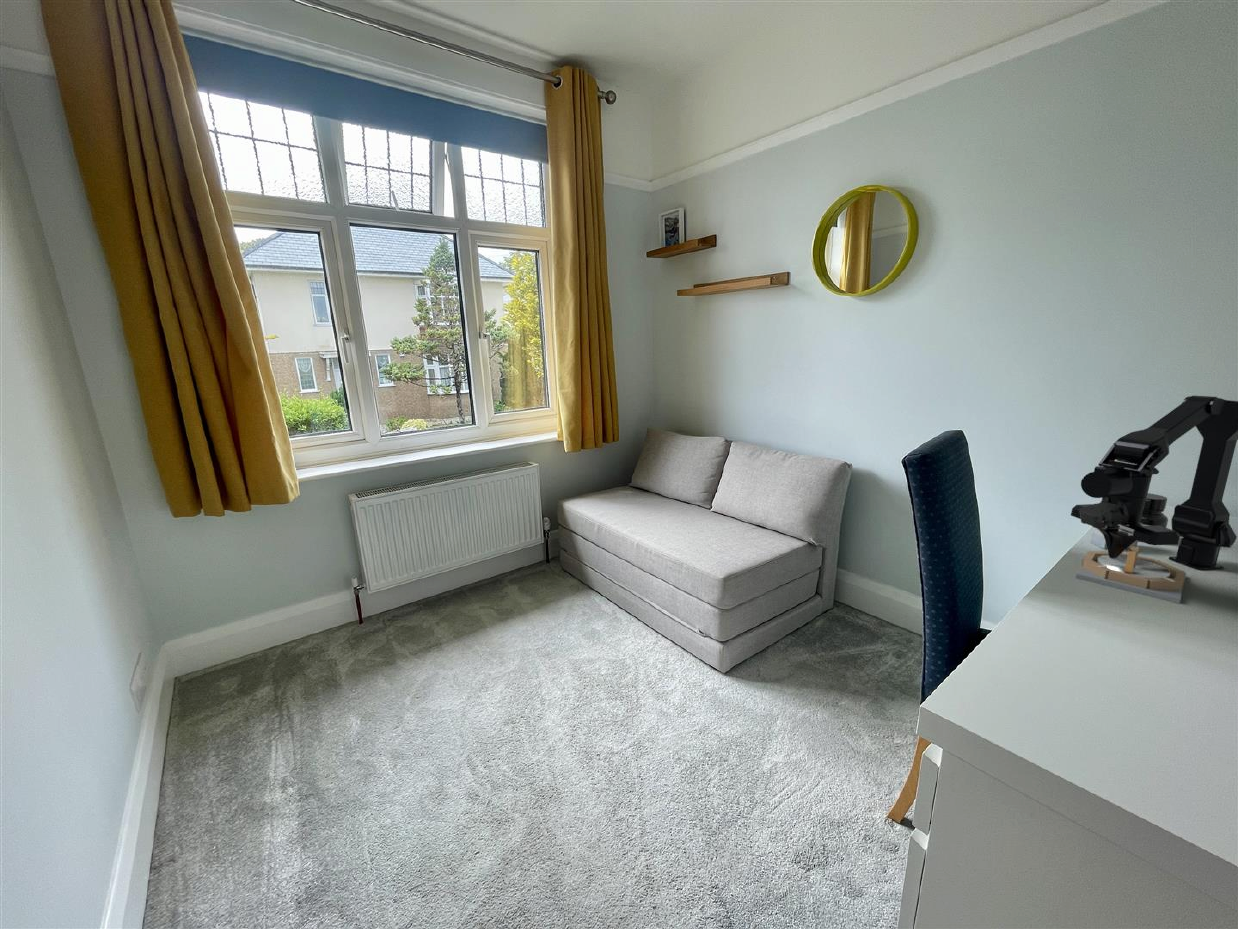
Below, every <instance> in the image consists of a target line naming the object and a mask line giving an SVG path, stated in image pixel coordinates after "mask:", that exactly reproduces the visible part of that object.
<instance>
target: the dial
mask: <svg viewBox="0 0 1238 929" xmlns="http://www.w3.org/2000/svg"><path fill="white" fill-rule="evenodd" d="M1139 553H1140V547H1138V546H1137V547H1133V546H1132V547H1131V548H1130V549H1128V552H1127V554H1128V555H1127V557H1126V556H1118V557H1117V558H1113V559H1112V558H1110V557H1109V555H1103V556H1100V557H1098V560H1097V563H1099V564H1101V565H1103V566H1107V568H1109V569H1111V570H1114V571H1118V572H1123V573H1127V574H1131V575H1136V576H1140V577H1144V578H1163V577H1167V578H1169V577H1170V571H1169V570H1168V569H1166V568H1164V567H1162V566H1160V565H1158V564H1155V563H1152V562H1149V561H1145V560H1142V559H1137V557H1138V556H1139Z"/></svg>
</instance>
